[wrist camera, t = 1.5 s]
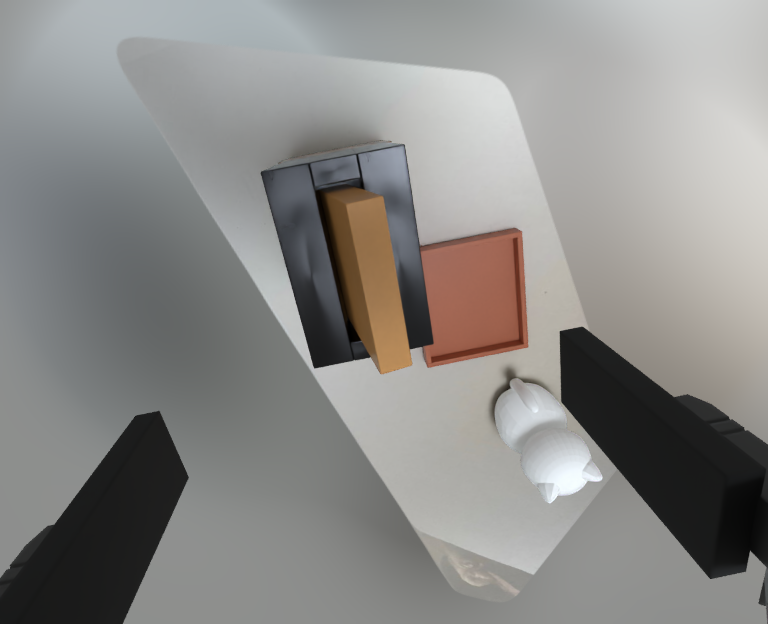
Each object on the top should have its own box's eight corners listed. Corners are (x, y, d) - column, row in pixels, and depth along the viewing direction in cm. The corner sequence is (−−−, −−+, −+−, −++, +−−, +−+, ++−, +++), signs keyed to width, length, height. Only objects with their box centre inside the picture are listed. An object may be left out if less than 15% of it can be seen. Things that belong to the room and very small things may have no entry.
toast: (318, 189, 31) (345, 203, 22) (346, 183, 31) (383, 195, 22) (347, 317, 35) (380, 375, 26) (371, 310, 35) (412, 365, 26)
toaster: (290, 157, 47) (251, 173, 27) (381, 140, 47) (412, 142, 27) (323, 293, 53) (313, 391, 33) (404, 277, 53) (444, 364, 33)
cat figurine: (504, 445, 64) (549, 530, 50) (472, 381, 60) (512, 455, 46) (560, 419, 63) (622, 498, 50) (533, 352, 59) (592, 418, 45)
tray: (407, 249, 52) (409, 253, 50) (515, 227, 52) (522, 231, 50) (424, 360, 58) (427, 367, 56) (522, 340, 58) (528, 347, 56)
